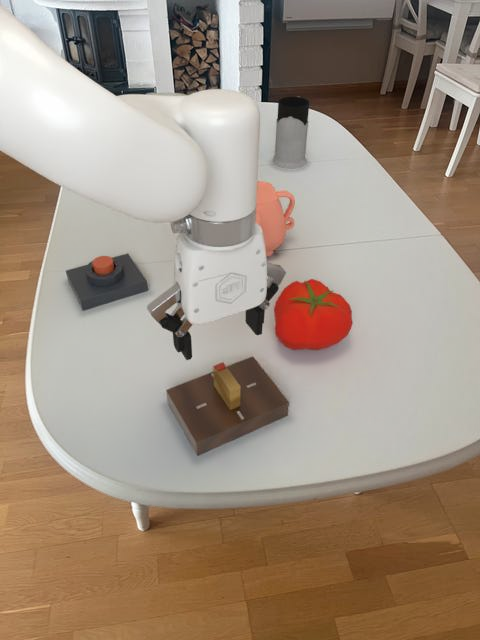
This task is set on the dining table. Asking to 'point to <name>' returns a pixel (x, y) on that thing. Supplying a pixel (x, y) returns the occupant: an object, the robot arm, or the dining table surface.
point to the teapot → (273, 215)
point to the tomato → (311, 316)
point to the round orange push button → (103, 265)
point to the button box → (106, 282)
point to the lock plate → (214, 415)
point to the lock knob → (226, 386)
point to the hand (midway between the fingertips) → (219, 340)
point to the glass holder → (291, 132)
